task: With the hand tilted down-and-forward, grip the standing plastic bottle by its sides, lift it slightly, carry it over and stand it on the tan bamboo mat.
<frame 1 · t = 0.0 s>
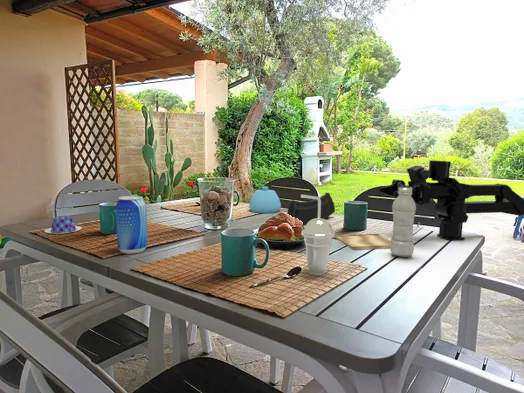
hand: (386, 191, 125), 17 cm above the table, tool horizontal, fingers open, 9 cm apart
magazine: (311, 222, 155), on the table
beer can: (132, 251, 113), on the table
plastic bottle: (401, 256, 110), on the table
sugar bowl: (264, 211, 180), on the table
cup with straw: (316, 272, 96), on the table
mat: (366, 242, 125), on the table
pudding: (63, 231, 137), on the table
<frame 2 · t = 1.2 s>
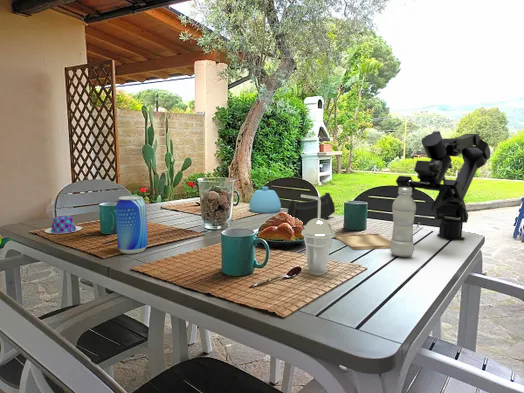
hand: (416, 207, 113), 13 cm above the table, tool tilted 45°, fingers open, 9 cm apart
nothing on the table moved.
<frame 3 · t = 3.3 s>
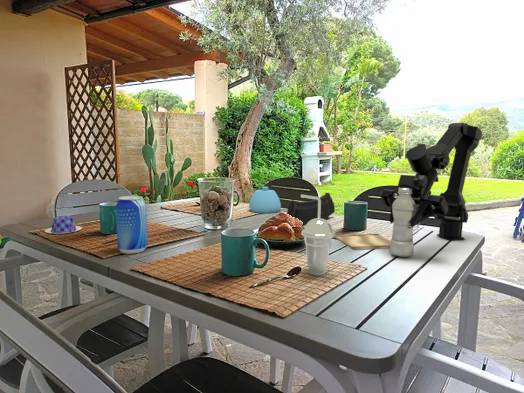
hand: (400, 224, 107), 10 cm above the table, tool tilted 45°, fingers closed on plastic bottle, 6 cm apart
plastic bottle: (401, 256, 110), on the table, touching gripper
everything else where it was.
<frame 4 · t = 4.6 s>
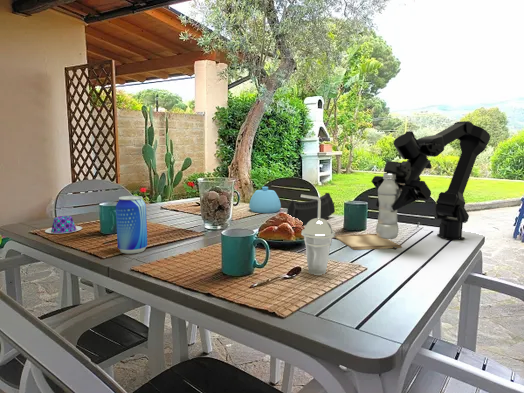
hand: (385, 208, 113), 13 cm above the table, tool tilted 45°, fingers closed on plastic bottle, 6 cm apart
plastic bottle: (386, 239, 116), point 3 cm above the table, touching gripper
everything else where it was.
when the fingers open (11 cm above the table, at t = 6.4 s): plastic bottle stays where it is, resting on mat.
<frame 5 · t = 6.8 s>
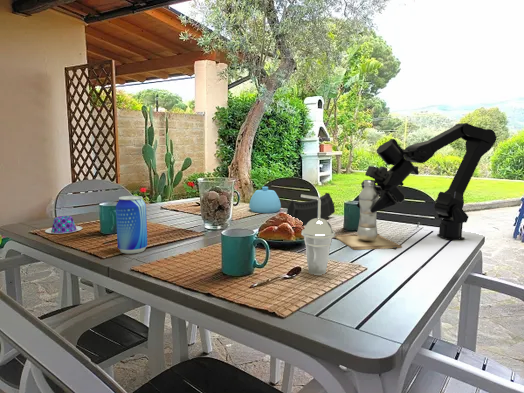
hand: (364, 209, 123), 11 cm above the table, tool tilted 45°, fingers open, 9 cm apart
plastic bottle: (366, 241, 125), resting on mat
everything else where it was.
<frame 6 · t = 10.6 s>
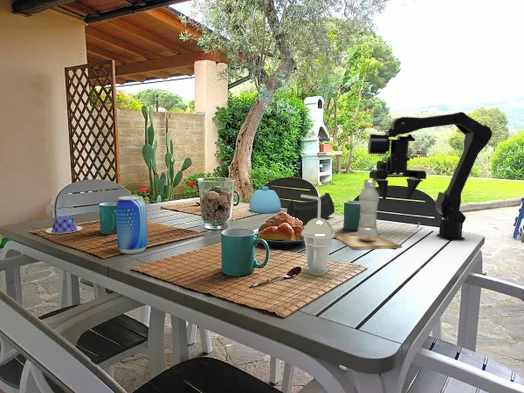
hand: (396, 199, 132), 13 cm above the table, tool pointing down, fingers open, 9 cm apart
nothing on the table moved.
at the end: plastic bottle 0.1 cm from the mat (horizontally); plastic bottle tilted 0°; the gripper is holding nothing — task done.
